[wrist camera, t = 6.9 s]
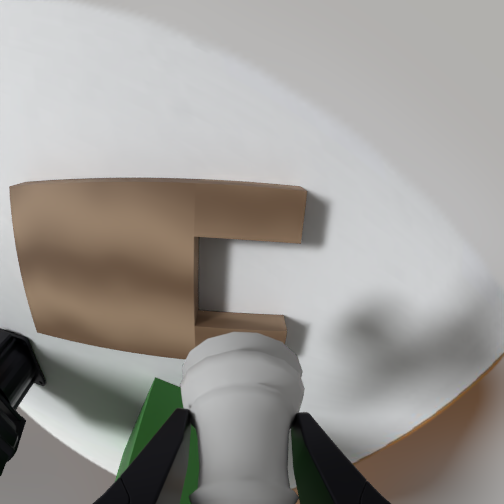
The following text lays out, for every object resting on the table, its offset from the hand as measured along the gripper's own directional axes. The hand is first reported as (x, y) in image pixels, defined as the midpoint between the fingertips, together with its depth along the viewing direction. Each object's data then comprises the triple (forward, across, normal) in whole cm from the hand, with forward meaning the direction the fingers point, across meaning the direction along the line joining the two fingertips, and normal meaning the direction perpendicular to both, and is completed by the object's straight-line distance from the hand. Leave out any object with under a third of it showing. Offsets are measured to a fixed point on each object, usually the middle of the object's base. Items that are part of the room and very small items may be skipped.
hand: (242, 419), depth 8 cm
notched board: (+12, +7, 0) cm, 13 cm away
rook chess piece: (+2, 0, 0) cm, 3 cm away
